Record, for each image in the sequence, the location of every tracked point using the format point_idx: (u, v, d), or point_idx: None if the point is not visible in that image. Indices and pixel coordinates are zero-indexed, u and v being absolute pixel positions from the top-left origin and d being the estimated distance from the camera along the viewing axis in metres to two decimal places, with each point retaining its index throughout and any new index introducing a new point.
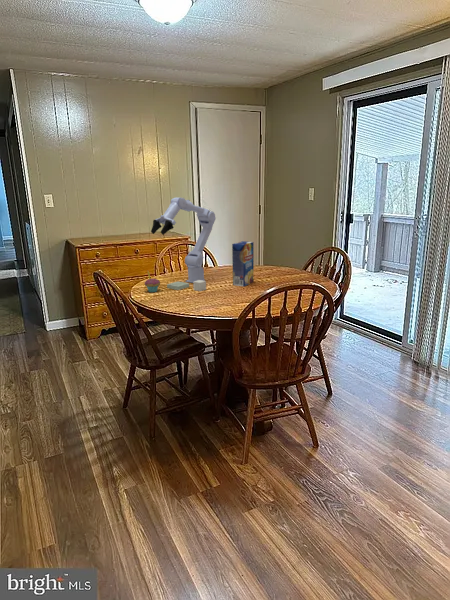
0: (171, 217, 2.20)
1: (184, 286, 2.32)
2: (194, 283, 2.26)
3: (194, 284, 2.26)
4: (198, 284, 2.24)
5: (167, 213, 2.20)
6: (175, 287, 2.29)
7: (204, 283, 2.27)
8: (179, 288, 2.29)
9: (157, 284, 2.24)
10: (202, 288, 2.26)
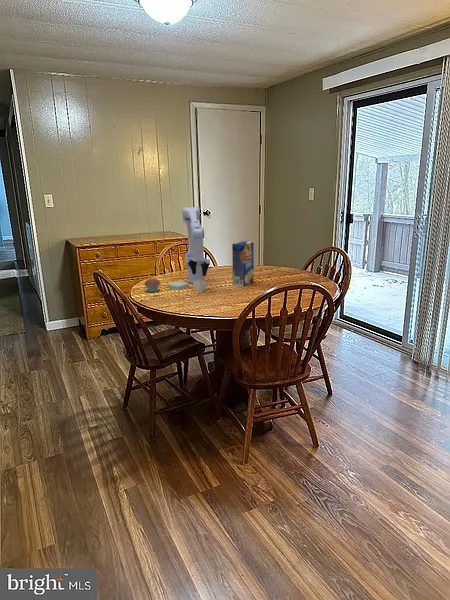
0: (202, 254, 2.21)
1: (184, 286, 2.32)
2: (194, 283, 2.26)
3: (194, 284, 2.26)
4: (198, 284, 2.24)
5: (196, 254, 2.20)
6: (175, 287, 2.29)
7: (204, 283, 2.27)
8: (179, 288, 2.29)
9: (157, 284, 2.24)
10: (202, 288, 2.26)
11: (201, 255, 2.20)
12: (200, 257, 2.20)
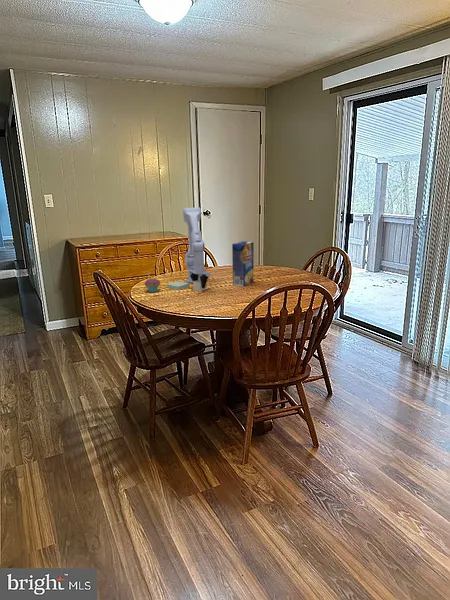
0: (202, 267, 2.23)
1: (184, 286, 2.32)
2: (194, 283, 2.26)
3: (194, 283, 2.26)
4: (198, 284, 2.24)
5: (197, 267, 2.22)
6: (175, 287, 2.29)
7: None
8: (179, 288, 2.29)
9: (157, 284, 2.24)
10: None
11: (201, 268, 2.22)
12: (200, 270, 2.22)
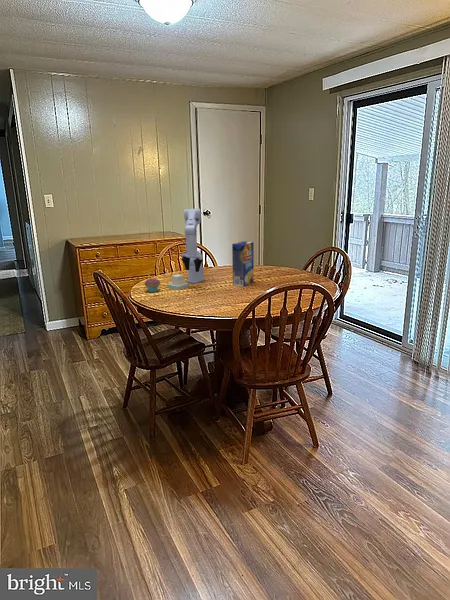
0: (195, 251, 2.25)
1: (184, 286, 2.32)
2: (172, 277, 2.32)
3: (172, 278, 2.32)
4: (176, 278, 2.30)
5: (189, 250, 2.24)
6: (175, 287, 2.29)
7: (182, 277, 2.32)
8: (179, 288, 2.29)
9: (157, 284, 2.24)
10: (180, 282, 2.32)
11: (194, 251, 2.24)
12: (193, 253, 2.24)
